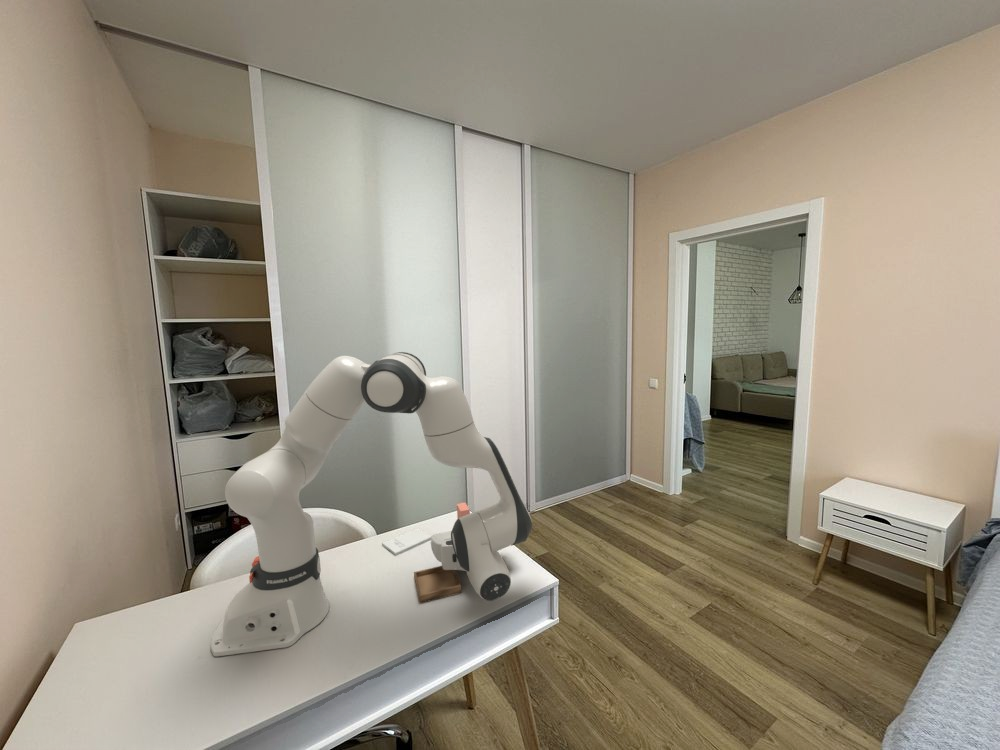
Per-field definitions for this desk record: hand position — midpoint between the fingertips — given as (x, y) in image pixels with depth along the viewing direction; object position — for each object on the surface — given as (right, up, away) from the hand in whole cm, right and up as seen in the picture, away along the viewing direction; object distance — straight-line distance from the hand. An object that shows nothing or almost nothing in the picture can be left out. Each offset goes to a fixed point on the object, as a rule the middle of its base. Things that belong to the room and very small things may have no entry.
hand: (463, 525), depth 113 cm
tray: (-5, -10, -13) cm, 17 cm away
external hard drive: (-18, -9, +8) cm, 21 cm away
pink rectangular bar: (+1, -8, 0) cm, 8 cm away
